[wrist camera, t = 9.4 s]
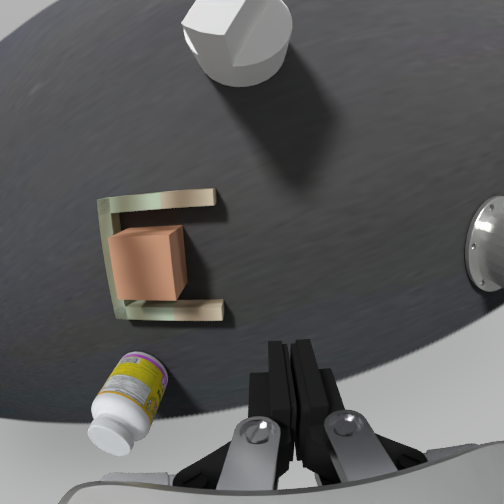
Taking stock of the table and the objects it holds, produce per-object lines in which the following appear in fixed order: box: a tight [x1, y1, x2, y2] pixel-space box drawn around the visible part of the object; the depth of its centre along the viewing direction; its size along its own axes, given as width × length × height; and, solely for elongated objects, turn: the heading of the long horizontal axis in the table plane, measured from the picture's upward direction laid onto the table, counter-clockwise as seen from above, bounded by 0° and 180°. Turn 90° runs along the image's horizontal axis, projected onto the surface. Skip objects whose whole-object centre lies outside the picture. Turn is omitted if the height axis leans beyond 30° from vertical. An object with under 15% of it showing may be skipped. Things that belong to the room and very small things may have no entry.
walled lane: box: [97, 188, 224, 321], centre depth 29 cm, size 12×13×2 cm
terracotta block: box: [108, 225, 188, 301], centre depth 28 cm, size 6×6×5 cm
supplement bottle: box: [88, 352, 168, 456], centre depth 28 cm, size 7×7×13 cm
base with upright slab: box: [181, 0, 292, 87], centre depth 19 cm, size 9×9×12 cm
